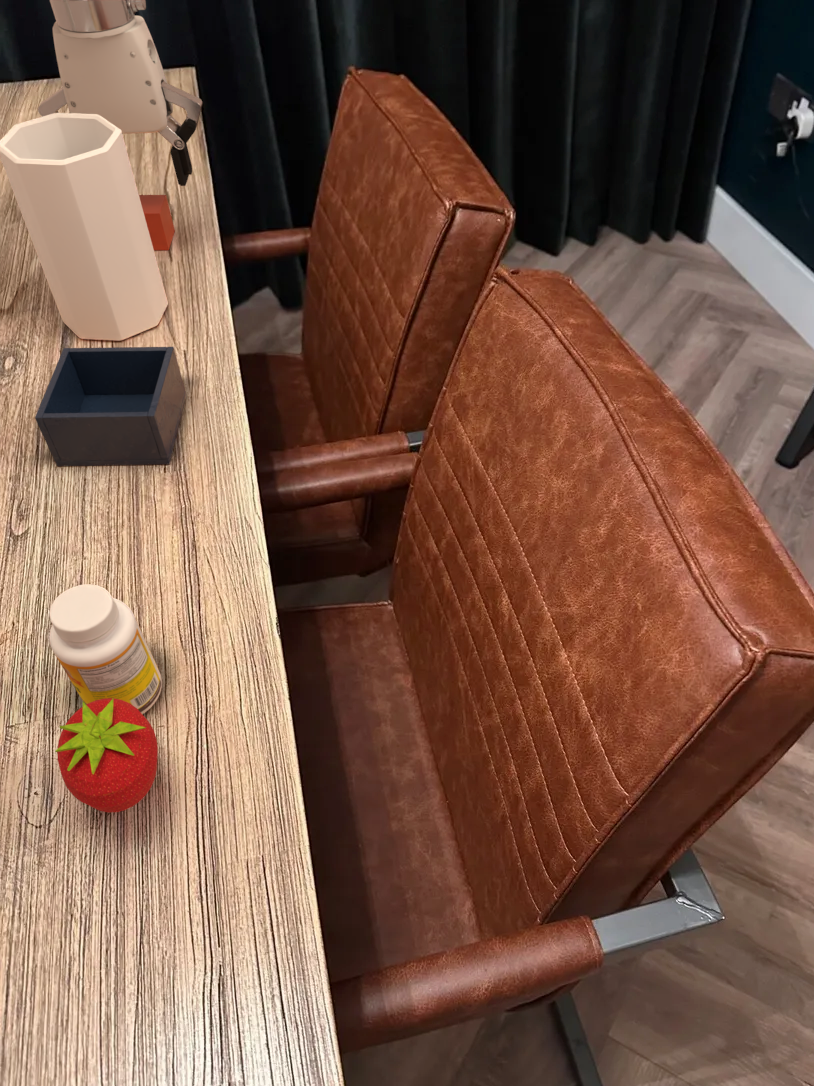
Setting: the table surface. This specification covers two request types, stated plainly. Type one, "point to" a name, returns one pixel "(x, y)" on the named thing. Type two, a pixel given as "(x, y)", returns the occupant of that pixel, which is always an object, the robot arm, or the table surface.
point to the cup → (86, 223)
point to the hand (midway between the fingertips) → (142, 181)
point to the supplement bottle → (103, 648)
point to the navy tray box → (113, 406)
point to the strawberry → (108, 755)
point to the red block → (158, 220)
